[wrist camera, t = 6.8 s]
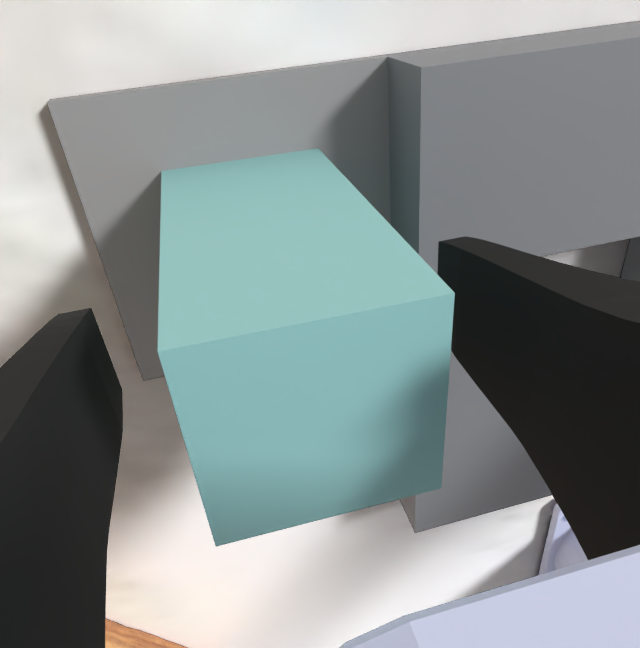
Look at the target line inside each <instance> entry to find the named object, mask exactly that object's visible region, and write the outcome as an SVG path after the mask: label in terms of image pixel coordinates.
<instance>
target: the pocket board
mask: <svg viewBox="0 0 640 648" xmlns="http://www.w3.org/2000/svg"><path fill="white" fill-rule="evenodd" d="M384 56H387V57H388V97H389V153H390V210H391V226H392V227H393V228H394V229H395V230H396V231H397V232H398V233H399V234H400V235H401V236H402V238H403V239H404V240H405V241H406V242H407V243H408V244H409V245H410V246H411V247H412V248H413V249H414V250H415V251H416V252H417V253H418V254H419V256H420V257H421V258H422V259H423V260H424V261H425V262H426V263H427V264H428V265H429V266H430V267H431V268H432V269H433V270H434V271H435V272H436V274H437V271H438V243H439V241H444V240H449V239H454V238H459V237H464V236H466V237H473V238H478V239H482V240H486V241H489V242H493V243H497V244H500V245H503V246H507V247H510V248H513V249H516V250H520V251H523V252H526V253H529V254H533V255H536V256H539V257H541V256H546V255H551V254H556V253H561V252H566V251H571V250H576V249H580V248H585V247H590V246H595V245H600V244H605V243H610V242H615V241H620V240H625V239H630V241H629V245H628V249H627V253H626V258H625V262H624V266H623V270H622V274H621V278H623V279H629V280H634V281H639V282H640V21H634V22H627V23H619V24H612V25H604V26H597V27H589V28H582V29H574V30H567V31H559V32H552V33H544V34H537V35H529V36H522V37H514V38H507V39H499V40H492V41H484V42H477V43H469V44H462V45H454V46H447V47H439V48H432V49H424V50H417V51H409V52H402V53H394V54H387V55H384ZM551 495H552V493H551V492H550V490H549V488H548V486H547V485H546V483H545V481H544V480H543V478H542V476H541V475H540V473H539V471H538V470H537V468H536V467H535V465H534V463H533V462H532V460H531V458H530V457H529V455H528V453H527V452H526V450H525V449H524V447H523V445H522V444H521V442H520V441H519V440H518V438H517V437H516V435H515V434H514V433H513V431H512V430H511V428H510V427H509V426H508V425H507V423H506V422H505V421H504V419H503V418H502V417H501V416H500V414H499V413H498V412H497V410H496V409H495V408H494V407H493V405H492V404H491V403H490V402H489V400H488V399H487V398H486V396H485V395H484V394H483V393H482V391H481V390H480V389H479V387H478V386H477V385H476V384H475V382H474V381H473V380H472V378H471V377H470V376H469V375H468V373H467V372H466V371H465V369H464V368H463V367H462V365H461V364H460V363H459V361H458V360H457V359H456V357H455V356H454V354H453V352H452V351H451V356H450V370H449V385H448V399H447V414H446V428H445V443H444V457H443V472H442V486H441V489H437V490H433V491H429V492H425V493H421V494H418V495H414V496H410V497H406V498H402V499H400V501H401V503H402V505H403V508H404V510H405V512H406V514H407V516H408V519H409V521H410V523H411V525H412V527H413V529H414V532H415V533H417V532H421V531H424V530H428V529H431V528H435V527H439V526H442V525H446V524H449V523H453V522H457V521H460V520H464V519H468V518H471V517H475V516H478V515H482V514H486V513H489V512H493V511H496V510H500V509H504V508H507V507H511V506H514V505H518V504H522V503H525V502H529V501H532V500H536V499H540V498H543V497H547V496H551Z"/></svg>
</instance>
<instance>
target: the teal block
mask: <svg viewBox="0 0 640 648" xmlns="http://www.w3.org/2000/svg"><path fill="white" fill-rule="evenodd" d="M454 298H455V293H454V292H453V290H452V289H451V288H450V287H449V286H448V285H447V284H446V283H445V282H444V281H443V280H442V279H441V278H440V277H439V276H438V275H437V274H436V272H435V271H434V270H433V269H432V268H431V267H430V266H429V265H428V264H427V263H426V262H425V261H424V260H423V259H422V258H421V257H420V256H419V254H418V253H417V252H416V251H415V250H414V249H413V248H412V247H411V246H410V245H409V244H408V243H407V242H406V241H405V240H404V239H403V238H402V236H401V235H400V234H399V233H398V232H397V231H396V230H395V229H394V228H393V227H392V226H391V225H390V224H389V223H388V222H387V221H386V220H385V218H384V217H383V216H382V215H381V214H380V213H379V212H378V211H377V210H376V209H375V208H374V207H373V206H372V205H371V204H370V203H369V202H368V200H367V199H366V198H365V197H364V196H363V195H362V194H361V193H360V192H359V191H358V190H357V189H356V188H355V187H354V186H353V185H352V184H351V182H350V181H349V180H348V179H347V178H346V177H345V176H344V175H343V174H342V173H341V172H340V171H339V170H338V169H337V168H336V167H335V166H334V164H333V163H332V162H331V161H330V160H329V159H328V158H327V157H326V156H325V155H324V154H323V153H322V152H321V151H320V150H319V149H318V148H317V149H310V150H303V151H296V152H289V153H282V154H275V155H268V156H261V157H255V158H248V159H241V160H234V161H227V162H220V163H213V164H206V165H199V166H193V167H186V168H179V169H172V170H165V171H162V172H161V217H160V262H159V307H158V355H159V358H160V361H161V365H162V368H163V372H164V375H165V378H166V382H167V385H168V388H169V392H170V395H171V398H172V402H173V405H174V408H175V412H176V415H177V418H178V422H179V425H180V428H181V432H182V435H183V438H184V442H185V445H186V448H187V452H188V455H189V458H190V462H191V465H192V468H193V472H194V475H195V478H196V482H197V485H198V488H199V492H200V495H201V498H202V502H203V505H204V508H205V512H206V515H207V518H208V522H209V525H210V528H211V532H212V535H213V538H214V542H215V545H216V546H220V545H223V544H227V543H231V542H235V541H239V540H243V539H247V538H251V537H254V536H258V535H262V534H266V533H270V532H274V531H278V530H282V529H286V528H289V527H293V526H297V525H301V524H305V523H309V522H313V521H317V520H321V519H324V518H328V517H332V516H336V515H340V514H344V513H348V512H352V511H355V510H359V509H363V508H367V507H371V506H375V505H379V504H383V503H387V502H390V501H394V500H398V499H402V498H406V497H410V496H414V495H418V494H421V493H425V492H429V491H433V490H437V489H441V486H442V472H443V457H444V443H445V428H446V414H447V399H448V385H449V370H450V356H451V342H452V327H453V313H454Z"/></svg>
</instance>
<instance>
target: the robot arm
mask: <svg viewBox="0 0 640 648" xmlns="http://www.w3.org/2000/svg"><path fill="white" fill-rule="evenodd" d="M437 275H438V276H439V277H440V278H441V279H442V280H443V281H444V282H445V283H446V284H447V285H448V286H449V287H450V288H451V289H452V290H453V292H454V293H455V298H454V313H453V327H452V342H451V351H452V352H453V354H454V356H455V357H456V359H457V360H458V361H459V363H460V364H461V365H462V367H463V368H464V369H465V371H466V372H467V373H468V375H469V376H470V377H471V378H472V380H473V381H474V382H475V384H476V385H477V386H478V387H479V389H480V390H481V391H482V393H483V394H484V395H485V396H486V398H487V399H488V400H489V402H490V403H491V404H492V405H493V407H494V408H495V409H496V410H497V412H498V413H499V414H500V416H501V417H502V418H503V419H504V421H505V422H506V423H507V425H508V426H509V427H510V428H511V430H512V431H513V433H514V434H515V435H516V437H517V438H518V440H519V441H520V442H521V444H522V445H523V447H524V449H525V450H526V452H527V453H528V455H529V457H530V458H531V460H532V462H533V463H534V465H535V467H536V468H537V470H538V471H539V473H540V475H541V476H542V478H543V480H544V481H545V483H546V485H547V486H548V488H549V490H550V492H551V493H552V495H553V497H554V499H555V500H556V502H557V503H556V504H555V506H554V509H553V514H552V518H551V522H550V527H549V531H548V535H547V540H546V544H545V548H544V553H543V557H542V561H541V566H540V570H539V574H538V576H535V577H531V578H528V579H525V580H521V581H518V582H515V583H511V584H508V585H505V586H501V587H498V588H495V589H491V590H488V591H485V592H481V593H478V594H475V595H471V596H468V597H465V598H461V599H458V600H455V601H451V602H448V603H445V604H442V605H438V606H435V607H432V608H428V609H425V610H422V611H418V612H415V613H412V614H408V615H405V616H402V617H400V618H398V619H396V620H394V621H391V622H389V623H387V624H385V625H383V626H380V627H378V628H376V629H374V630H372V631H369V632H367V633H365V634H363V635H361V636H358V637H356V638H354V639H352V640H350V641H347V642H345V643H344V644H343V645H342V646H341V647H340V648H640V282H639V281H634V280H629V279H623V278H619V277H614V276H609V275H605V274H601V273H597V272H593V271H589V270H585V269H581V268H577V267H574V266H570V265H566V264H563V263H559V262H556V261H552V260H549V259H546V258H542V257H539V256H536V255H533V254H529V253H526V252H523V251H520V250H516V249H513V248H510V247H507V246H503V245H500V244H497V243H493V242H489V241H486V240H482V239H478V238H473V237H466V236H464V237H459V238H454V239H449V240H444V241H439V243H438V271H437ZM122 432H123V411H122V388H121V386H120V383H119V380H118V378H117V375H116V372H115V370H114V367H113V364H112V362H111V359H110V356H109V354H108V351H107V349H106V346H105V343H104V341H103V338H102V335H101V333H100V330H99V327H98V325H97V322H96V320H95V317H94V314H93V312H92V309H91V308H89V309H83V310H78V311H73V312H68V313H62V314H58V315H57V316H56V317H54V318H53V319H52V320H50V321H49V322H48V323H47V324H46V325H45V326H44V327H43V328H42V329H40V330H39V331H38V332H37V333H36V334H35V335H34V336H33V337H32V338H31V339H30V340H29V341H28V342H27V343H26V344H25V345H24V346H23V347H22V348H21V349H20V350H19V351H17V352H16V353H15V354H14V355H13V356H12V357H11V358H10V359H9V360H8V361H7V362H6V363H5V364H4V365H3V366H2V367H1V368H0V648H105V602H106V563H107V545H108V534H109V526H110V519H111V512H112V505H113V498H114V491H115V484H116V477H117V470H118V463H119V455H120V448H121V440H122Z"/></svg>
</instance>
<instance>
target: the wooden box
mask: <svg viewBox="0 0 640 648" xmlns="http://www.w3.org/2000/svg"><path fill="white" fill-rule="evenodd" d="M105 648H186V647H184V646H181V645H179V644H176V643H173V642H170V641H167V640H164V639H161V638H159V637H157V636H154V635H151V634H148V633H145V632H143V631H139V630H136V629H132V628H127V627H125V626H123V625H121V624H119V623H116V622H113V621H111V620H108V619H105Z"/></svg>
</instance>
